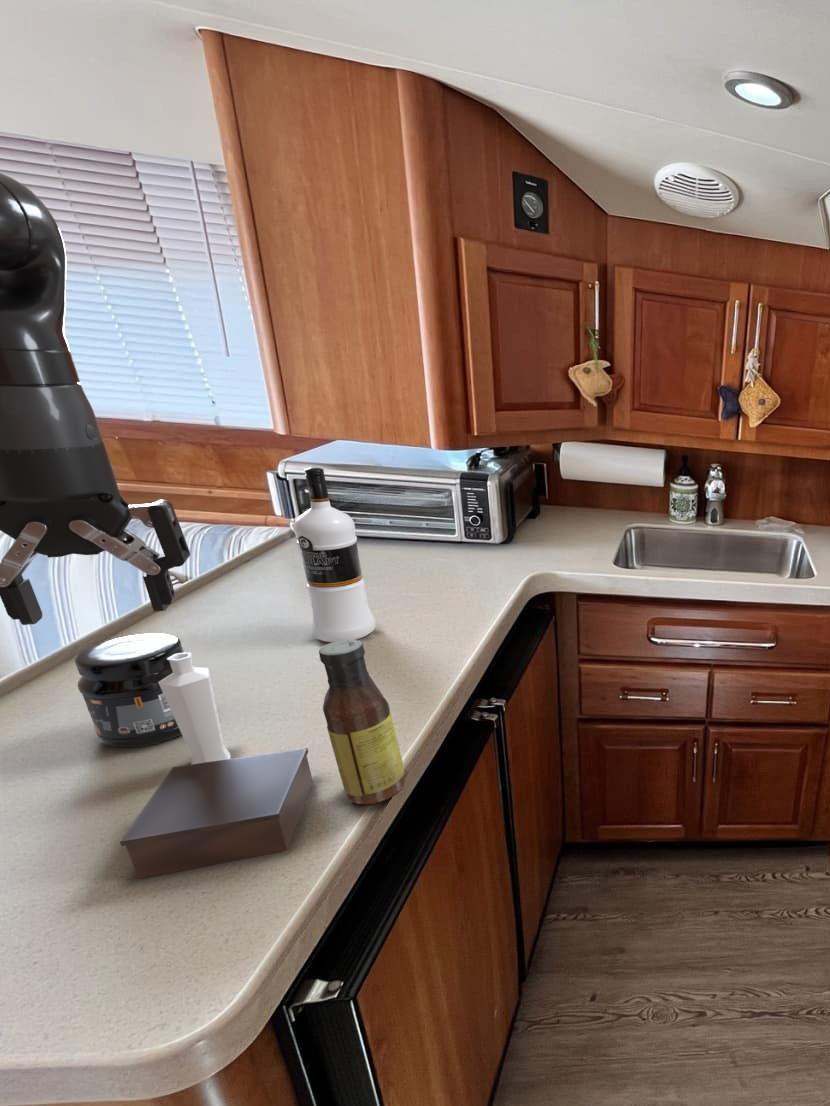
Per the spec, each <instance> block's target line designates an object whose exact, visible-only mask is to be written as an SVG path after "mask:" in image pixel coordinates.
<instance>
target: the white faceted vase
mask: <svg viewBox="0 0 830 1106" xmlns="http://www.w3.org/2000/svg"><path fill="white" fill-rule="evenodd" d="M167 660H169V662H170V665H171V668H172V671H173V673H172V674H170V675H169V676H167V677H166V678H164V679H162V680H161V681H159V682H158V683H159V685H160V687H161V690H162V692H163V694H164V696H165V698H166V701H167V703H168V705H169V707H170V709H171V712H172V714H173V716H174V718H175V720H176V723H177V725H178V727H179V729H180V731H181V734H182V735H181V736H182V738H183V740H184V743H185V744H186V747H187V749H188V751H189V753H190V755H191V762H190V763H191V764H198V763H205V762H212V761H219V760H226V759H232V758H231V753H230V752H229V750H228V749H227V748H226V746H225V744H224V739H223V734H222V729H221V723H220V719H219V714H218V709H217V704H216V699H215V694H214V689H213V684H212V680H211V674H210V670H209V668H208V667H198V666H197V667H196V666H194V662H193V660H192V653H191V652H190V651H189V652H184V653H177V654H174V655H172V656H170V657H169V658H167ZM192 662H193V663H192ZM191 764H190V765H191Z"/></svg>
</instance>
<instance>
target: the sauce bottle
mask: <svg viewBox="0 0 830 1106" xmlns="http://www.w3.org/2000/svg"><path fill="white" fill-rule="evenodd" d="M365 653H366V650H365V647H364V643H363V642H361V641H360V640H358V639H357V640H353V639H345V640H339V641H335V642H328V643H326V644H324V645H322V646H321V647H320V648H319V650H318V655H319V661H320V662H321V663H322V664H323V666H324V670H325V672H326V676H327V683H328V689H327V692H326V693H325V695H324V699H323V704H322V711H323V715H324V718H325V720H326V729H327V732H328V736H329V740H330V744H331V747H332V751H333V754H334V757H335V762H336V766H337V769H338V772H339V776H340V780H341V784H342V786H343V790H344V791H345V793H347V794H346V795H347V798H348V800H349V801H350V802H351V803H354V804H358V805H375V804H379V803H382V802H386V801H388V800H389V799H392V798H393V797H395V796H397V795H398V794H399V793H400V792H401V791H402V790H403V788H404V786H405V784H406V779H405V766H404V764H403V763H404V762H403V759H402V754H401V750H400V746H399V742H398V737H397V733H396V728H395V725H394V720H393V717H392V713H391V708H390V705H389V702H388V701H387V699H386V697H384V695H383V693H382V692H381V691H380V689H379V688H378V686H377V685H376V683H375V681H374V680H373V679H372V677H371V676H370V673H369V671H368V668H367V664H366V658H365Z"/></svg>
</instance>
